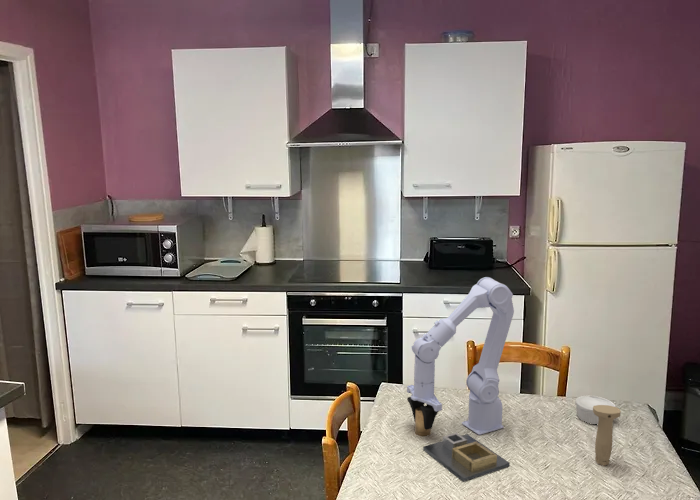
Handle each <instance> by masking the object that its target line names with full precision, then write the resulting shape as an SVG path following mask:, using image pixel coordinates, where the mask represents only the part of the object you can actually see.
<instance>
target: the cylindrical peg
mask: <svg viewBox="0 0 700 500" xmlns="http://www.w3.org/2000/svg"><path fill="white" fill-rule="evenodd" d="M420 407H422V406H420ZM420 407H417V408H416V413H415V421H414V423H415V425H414V434H416V436H419V437H428V436H431V434H432V431H431V430H432V428H431V429H427V430H426V429H425V428H424V418H423V413H422V410H421V408H420Z"/></svg>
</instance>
